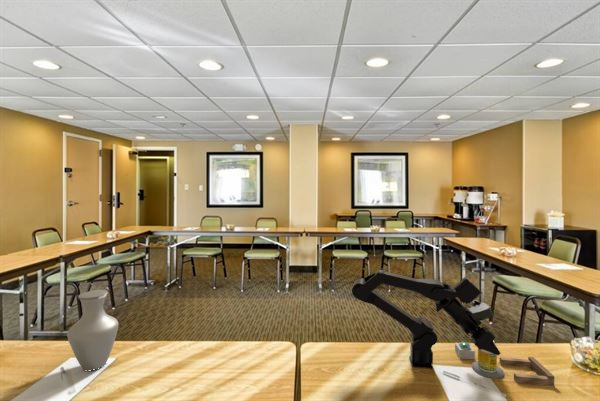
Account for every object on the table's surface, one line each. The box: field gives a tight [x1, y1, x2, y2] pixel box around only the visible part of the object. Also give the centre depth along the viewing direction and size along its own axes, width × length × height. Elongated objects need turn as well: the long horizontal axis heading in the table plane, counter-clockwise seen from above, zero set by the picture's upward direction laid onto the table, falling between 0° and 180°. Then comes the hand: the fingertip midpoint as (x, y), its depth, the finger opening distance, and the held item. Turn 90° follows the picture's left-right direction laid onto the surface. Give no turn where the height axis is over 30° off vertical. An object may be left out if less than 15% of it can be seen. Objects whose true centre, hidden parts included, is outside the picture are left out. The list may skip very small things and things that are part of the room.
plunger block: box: [454, 342, 476, 360], centre depth 111 cm, size 5×5×3 cm
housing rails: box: [498, 356, 555, 387], centre depth 100 cm, size 10×11×3 cm
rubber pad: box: [471, 360, 505, 380], centre depth 102 cm, size 9×9×1 cm
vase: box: [66, 289, 120, 371], centre depth 104 cm, size 14×14×25 cm
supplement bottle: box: [477, 339, 498, 373], centre depth 102 cm, size 5×5×10 cm
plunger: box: [459, 341, 471, 349], centre depth 111 cm, size 3×3×4 cm
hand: (492, 346), depth 101 cm, fingers open, 9 cm apart
